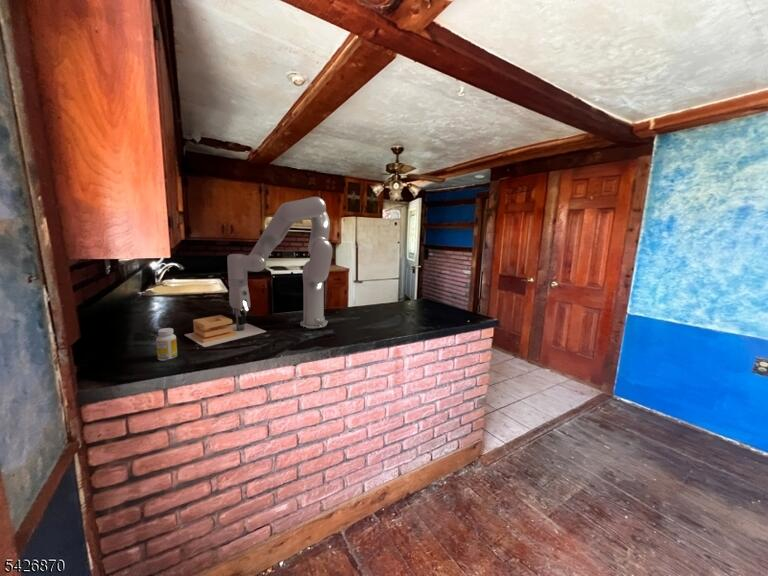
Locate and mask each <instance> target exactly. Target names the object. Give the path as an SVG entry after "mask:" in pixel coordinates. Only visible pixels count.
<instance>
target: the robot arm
mask: <svg viewBox="0 0 768 576" xmlns="http://www.w3.org/2000/svg"><path fill="white" fill-rule="evenodd" d="M306 220H310V221H311V229H310V236H309V241H308V244H307V251H308V253H309V260H308V261H306V262H305V264H304V265H303V267H302V282H303V283H302V284H303V286H302V287H303V320H302V321H300V327H302V326H303V327H302V328H304V327H306V328H305V329H320V328H324V327H326V326H327V324H328V322H329V321H328V320H326V319H325V318H326V317H325V316H324V314H325V313H324V312H325V311H324V307H325V306H324V302H325V301H324V300H325V299H324V297H325V295H324V294H325V284H324V282H325V281H326V280H327V279H328V277H329V274H330V269H331V264H332V258H333V246H332V244H331V242H330V241H329V239H330V231H331V221H330V217H329V215H328V212H327V205H326V201H325V200H324V199H323V198H321V197H319V196H311V197H307V198H302V199H297V200H292V201H286V202H283V203H282V204H280V206H278V208H277V210H276V211H275V213H274V214H273V216H272V218H271V219H270V220H269V222H268V224H267V226H266V228H264V231H262V234H261V236H260V238H259V239H258V240H257V242H256V244H255V245H254V246H253V248H252V250H251V251H250V253H249V254H248V255H247V254H242V253H232V254H231V253H230V254H229V255H227V277H228V282H227V283H228V287H229V290H228V295H229V296H228V297H229V298H228V299H229V300H228V301H229V306H230V307H231V309H232V315H233V324H236V312H235V308H236V309H238V311H239V316H238V325H243V324H246V323H247V317H246V316H247V313H248V312H249V309H250V308H251V299H250V298H251V297H250V292H249V286H248V282H249V281H248V272H255V273H258V272H261V271H264V270H265V268H266V266H267V262H266V261H267V260H268V259H269V257H270V255H271V253H272V252H273V250H274V249H276V247H277V246H278V245H280V244H281V243H282V242H283V240H285V237H286V235H287V234H288V232H289V230H290V229H291V228H292V226H293V225H294V223H295V222H300V221H306ZM241 310H243V311H242V312H241Z"/></svg>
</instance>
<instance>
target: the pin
mask: <svg viewBox="0 0 768 576" xmlns="http://www.w3.org/2000/svg"><path fill="white" fill-rule="evenodd" d="M242 311H243V310H241V312H242ZM235 312H236V323H235V324H236V331H243V330H244V324H243V325H238V316H239V311H238V309H236V308H235Z"/></svg>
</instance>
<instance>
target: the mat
mask: <svg viewBox="0 0 768 576" xmlns="http://www.w3.org/2000/svg"><path fill="white" fill-rule="evenodd" d="M227 325H228V326H230V327H232V328H233V332H235V333H236V336H231V337H227V338H223V339H219V340H214V341H210V342H206V343H203V342H201V341H199V340H198V339H196V338H194V337H192V336H191V332H190V333H185V334H184V336H185V337H187V338H188V339H190V340H192V341H194V342H195V343H197V344H198V345H200V346H202V347H204V348H206V347H211V346H215V345H219V344H223V343H227V342H230V341H235V340H238V339H243V338H247V337H252V336H256V335H259V334H264V333H266V332H267V331H266V330H265V329H262V328H261V327H260V328H259V327H257V326H255V325H253V324H249V323H247V322H246V324H244V330H243V331H236V323H232V324H227Z"/></svg>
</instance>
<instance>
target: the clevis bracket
mask: <svg viewBox="0 0 768 576" xmlns="http://www.w3.org/2000/svg"><path fill="white" fill-rule="evenodd" d="M192 322H193V323H192V324H193V332H192V333H191V332H190V333H191V336H192V337H194V338H196V339H198V340H199V341H201V342H203V343H206V342H210V341H214V340H219V339H223V338H227V337H231V336H236V333H235V332H233V328H232V327H230V326H228V325H232V324H233V319H232V318H229V317H227V316H224V315H222V314H218V315H212V316H207V317H201V318H196V319H193V320H192Z"/></svg>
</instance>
